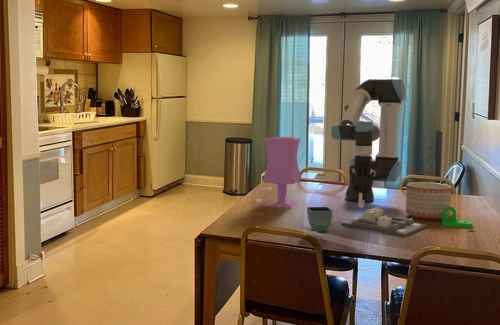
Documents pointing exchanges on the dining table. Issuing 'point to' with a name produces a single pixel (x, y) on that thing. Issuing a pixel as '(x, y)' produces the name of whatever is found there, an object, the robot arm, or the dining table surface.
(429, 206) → the planter
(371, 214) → the tab middle
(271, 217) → the dining table surface
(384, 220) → the tab near
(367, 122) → the robot arm
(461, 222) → the mechanical part
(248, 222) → the dining table surface
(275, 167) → the purple table lamp
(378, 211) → the tab far
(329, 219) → the flower pot
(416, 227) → the switch board
